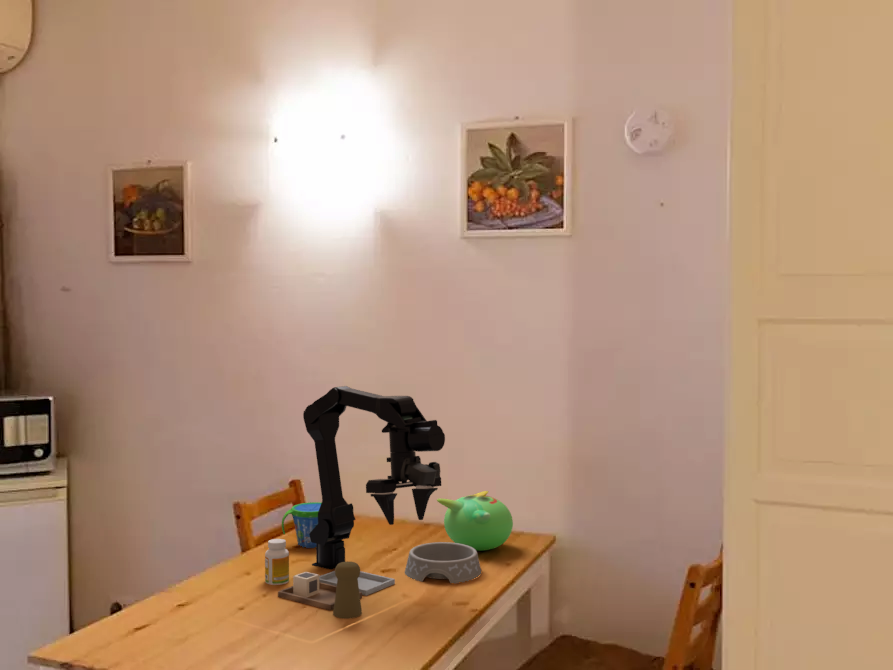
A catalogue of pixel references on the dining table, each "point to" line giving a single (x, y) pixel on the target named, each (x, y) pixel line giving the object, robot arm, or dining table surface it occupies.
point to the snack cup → (304, 521)
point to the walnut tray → (314, 596)
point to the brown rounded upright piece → (347, 591)
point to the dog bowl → (443, 562)
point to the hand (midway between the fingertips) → (406, 522)
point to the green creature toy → (477, 521)
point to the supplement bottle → (277, 562)
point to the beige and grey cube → (306, 584)
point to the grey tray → (362, 582)
